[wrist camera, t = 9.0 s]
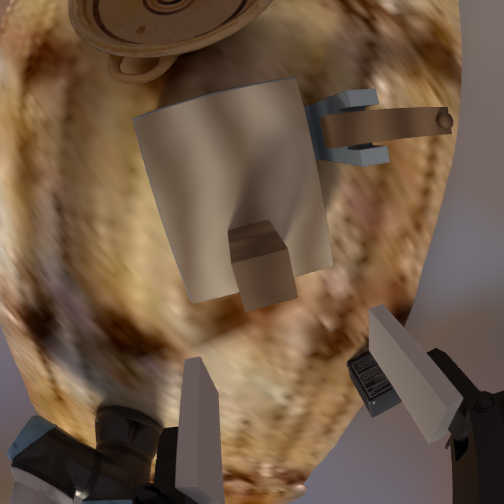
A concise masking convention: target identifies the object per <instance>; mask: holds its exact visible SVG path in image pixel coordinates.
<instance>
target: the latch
mask: <svg viewBox="0 0 504 504" xmlns="http://www.w3.org/2000/svg"><path fill="white" fill-rule="evenodd" d="M319 119H320V124H321V128H322V133H323V137H324V142H325V147H326V148H331V149H335V148H340V147H346V146H352V145H359V144H365V143H372V142H379V141H386V140H394V139H402V138H411V137H420V136H431V135H442V134H452V131H451V127H452V126H453V119H452V116H451V115H450V114H449V113H448V107H415V108H394V109H380V110H368V111H358V112H349V113H340V114H333V115H326V116H322V117H319Z"/></svg>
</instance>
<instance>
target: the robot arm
mask: <svg viewBox="0 0 504 504" xmlns="http://www.w3.org/2000/svg"><path fill="white" fill-rule="evenodd" d="M369 351H370V353H371V354H372V356H373V357H374V359H375V360H376V362H377V363H378V365H379V366H380V368H381V369H382V371H383V372H384V374H385V375H386V377H387V378H388V380H389V381H390V383H391V384H392V386H393V388H394V389H395V391H396V392H397V394H398V395H399V397H400V398H401V400H402V402H403V403H404V405H405V406H406V408H407V409H408V411H409V413H410V414H411V416H412V417H413V419H414V421H415V422H416V424H417V426H418V427H419V429H420V430H421V432H422V434H423V435H424V437H425V439H426V440H427V442H428V444H431V443H433V442H435V441H436V440H438V439H440V438H441V437H443V436H444V435H445V434H446V432H447V430H449V431H450V433H451V436H450V438H449V440H448V442H447V443H446V446H445V449H447V448H448V447H449V446H450V445H451V459H452V480H453V504H504V391H501V392H498V393H495V394H491V393H489V392H486V391H482V392H481V391H479V390H478V389H477V388H476V387H475V386H474V384H473V383H472V382H471V381H470V380H469V379H468V377H467V376H466V375H465V374H464V373H463V372H462V370H461V369H460V368H458V366H457V365H456V364H455V363H454V362H453V361H452V359H451V358H450V357H449V356H448V355H447V354H446V353H445V352H443V351H441V350H439V349H437V348H435V349H433V350H431V351H429V352H427V353H426V352H425V351H424V350H423V349H422V347H421V346H420V345H419V344H418V343H417V342H416V341H415V340H414V338H413V337H412V336H411V335H410V334H409V333H408V332H407V331H406V329H405V328H404V327H403V326H402V325H401V324H400V323H399V322H398V320H397V319H396V318H395V317H394V316H393V315H392V314H391V313H390V312H389V311H388V310H387V308H386V307H385V306H384V305H383V304H381V305H379V306H376V307H373V308H370V309H369ZM95 432H96V443H97V445H96V449H94V448H92V447H90V446H88V445H87V444H85V443H83V442H81V441H80V440H78V439H76V438H75V437H73V436H72V435H70V434H68V433H67V432H65V431H64V430H62V429H61V428H59V427H58V426H57V425H56V424H53V423H51V422H49V421H48V420H46V419H45V418H43V417H41V416H39V415H34V416H32V417H31V418H30V419H29V421H28V422H27V423H26V425H25V426H24V428H23V429H22V431H21V432H20V433H19V435H18V436H17V438H16V440H15V441H14V443H13V444H12V446H11V447H10V449H9V451H8V452H7V457H9V459H10V460H11V461H13V462H12V465H11V468H10V470H11V472H12V474H13V477H14V479H15V484H14V487H13V490H12V493H11V497H10V500H9V504H72V503H73V500H74V497H76V498H78V499H81V500H82V501H83V502H82V504H225V500H224V487H223V473H222V458H221V440H220V420H219V396H218V391H217V389H216V387H215V385H214V383H213V381H212V379H211V377H210V375H209V373H208V371H207V369H206V367H205V365H204V363H203V361H202V359H201V357H195V358H190V359H185V364H184V373H183V383H182V393H181V404H180V415H179V427H170V428H164V429H163V430H162V428H161V426H160V425H159V424H158V423H157V422H156V421H155V420H153V419H152V418H150V417H149V416H147V415H145V414H143V413H141V412H139V411H136V410H133V409H130V408H125V407H119V406H109V407H104V408H102V409H100V410H99V411H98V413H97V416H96V419H95ZM156 453H157V459H156V466H155V477H154V483H150V472H151V463H152V460H153V458H154V457H155V455H156Z"/></svg>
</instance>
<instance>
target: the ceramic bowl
mask: <svg viewBox="0 0 504 504" xmlns="http://www.w3.org/2000/svg"><path fill="white" fill-rule="evenodd" d="M272 1H273V0H69V17H70V21H71V24H72V26H73V28H74V30H75V31H76V33H77V35H78V36H79V37H80V38H81V39H82V40H83V41H85V42H86V43H87V44H88V45H90V46H92V47H94V48H96V49H97V50H99V51H102V52H106V53H109V54H110V56H109V61H108V69H109V73H110V75H111V76H112V77H113V78H114V79H115V80H117V81H119V82H122V83H127V84H141V83H147V82H150V81H152V80H155V79H157V78H158V77H160V76H161V75H162V74H163V73H165V72H166V71H167V70H168V69H169V68H170V67H171V65H172V64H173V63H174V62H175V60H176V59H177V57H178V56H179V55H180V54H184V53H188V52H192V51H196V50H199V49H201V48H204V47H207V46H210V45H212V44H215V43H217V42H219V41H221V40H223V39H225V38H227V37H229V36H231V35H232V34H234V33H235V32H237V31H238V30H240V29H241V28H243V27H244V26H246V25H248V24H249V23H251V22H252V21H253V20H254V19H256V18H257V17H258V16H259V15H260V14H261V13H262V12H263V11H265V10H266V8H267V7H268V6H269V4H270V3H271V2H272ZM124 57H132V58H138V57H139V58H149V57H160V58H159V61H158V63H157V65H156V66H155V68H153V69H152V70H151V71H149V72H147V73H143V74H126V73H123V72H121V70H120V64H121V62H122V60H123V59H124Z"/></svg>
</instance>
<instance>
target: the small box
mask: <svg viewBox="0 0 504 504" xmlns="http://www.w3.org/2000/svg"><path fill="white" fill-rule="evenodd" d="M347 367H348V369H349V373H350V377H351V379H352V381H353V383H354V385H355V387H356V389H357V391H358V392H359V394H360V396H361V398H362V400H363V402H364V404H365V405H366V407H367V409H368V411H369V413H370V415H371V417H372V418H373V417H374V416H377V415H379V414H380V413H383V412H384V411H386V410H388V409H390V408H392V407H393V406H395V405H397V404H399V403H400V402H402V400H401V398H400V397H399V395H398V394H397V392H396V391H395V389H394V388H393V386H392V384H391V383H390V381H389V380H388V378H387V377H386V375H385V374H384V372H383V371H382V369H381V368H380V366H379V365H378V363H377V362H376V360H375V359H374V357H373V356H372V354H371V353H370V351H369V352H367V353H365V354H363V355H361V356H359V357H357V358H355V359H353V360H351V361H349V362H347Z"/></svg>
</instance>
